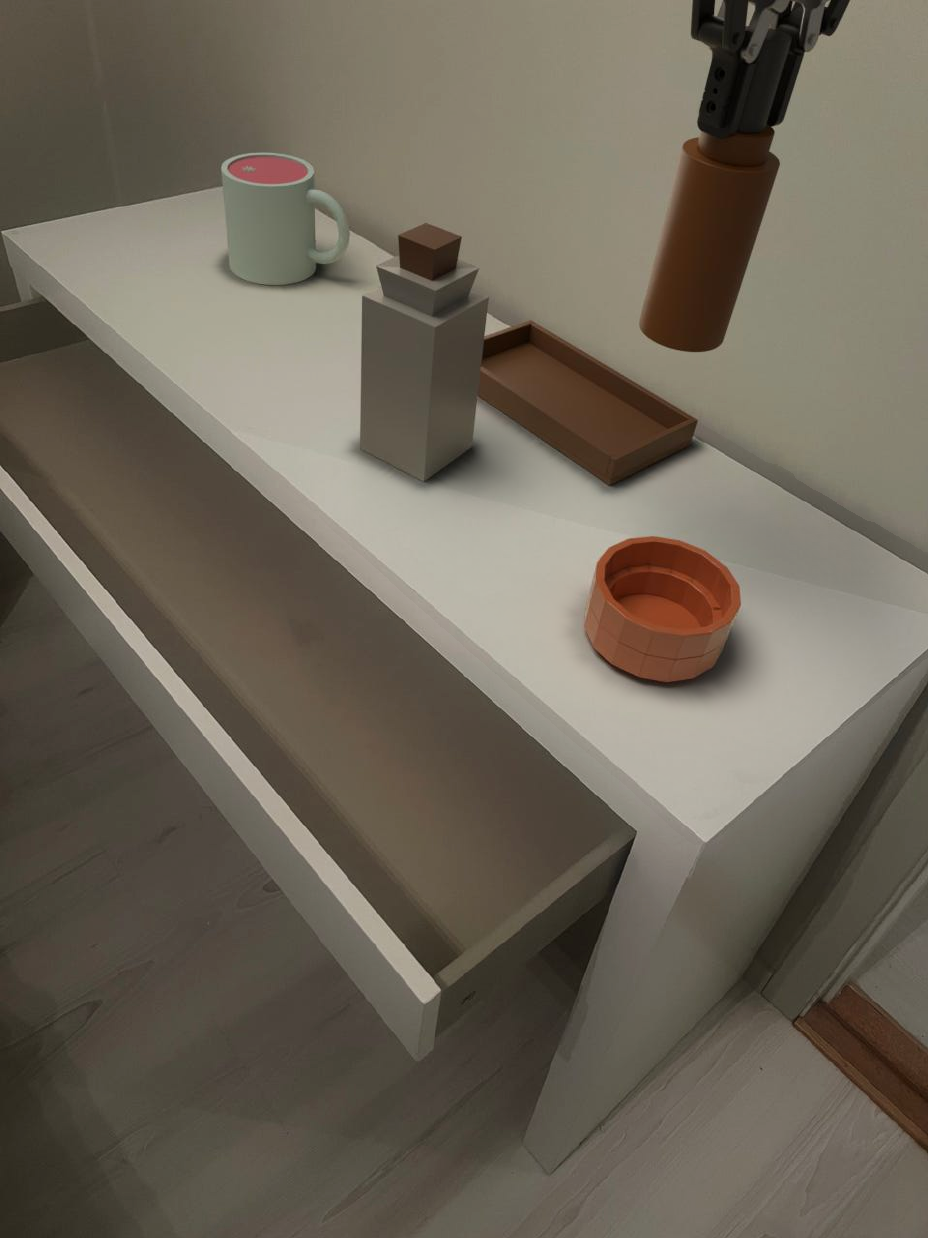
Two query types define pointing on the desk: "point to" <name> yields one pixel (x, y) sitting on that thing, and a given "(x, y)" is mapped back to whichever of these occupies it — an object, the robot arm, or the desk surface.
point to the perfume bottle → (421, 354)
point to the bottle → (715, 219)
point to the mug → (275, 218)
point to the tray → (579, 403)
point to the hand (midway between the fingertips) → (739, 126)
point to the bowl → (661, 608)
